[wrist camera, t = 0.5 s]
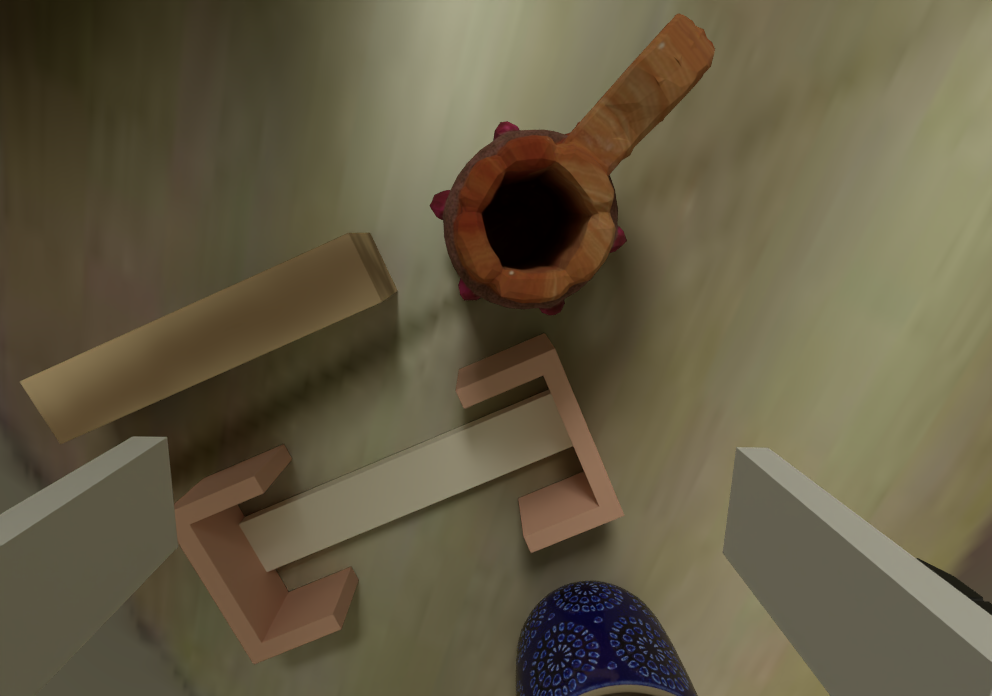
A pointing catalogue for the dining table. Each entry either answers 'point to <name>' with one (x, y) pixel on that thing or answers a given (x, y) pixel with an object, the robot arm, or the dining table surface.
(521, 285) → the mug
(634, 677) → the planter
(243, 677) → the dining table surface
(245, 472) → the endcap rail
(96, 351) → the tan wooden beam
